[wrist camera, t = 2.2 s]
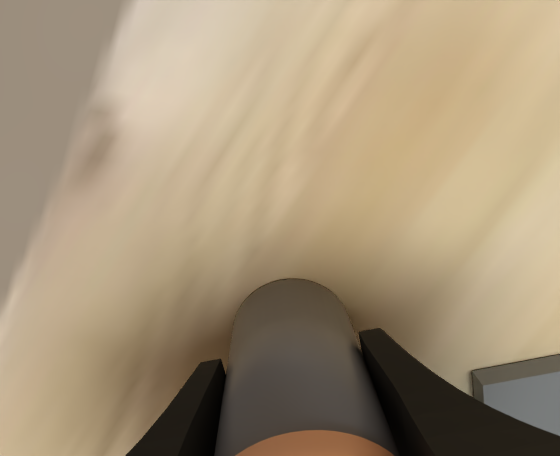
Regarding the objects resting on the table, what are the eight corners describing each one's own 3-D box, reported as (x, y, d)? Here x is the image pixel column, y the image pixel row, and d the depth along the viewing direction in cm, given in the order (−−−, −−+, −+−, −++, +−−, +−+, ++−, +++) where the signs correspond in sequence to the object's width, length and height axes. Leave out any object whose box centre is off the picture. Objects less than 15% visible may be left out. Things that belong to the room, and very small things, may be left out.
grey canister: (361, 372, 15) (460, 663, 7) (245, 394, 15) (223, 702, 7) (343, 264, 14) (439, 480, 6) (216, 289, 14) (153, 531, 6)
